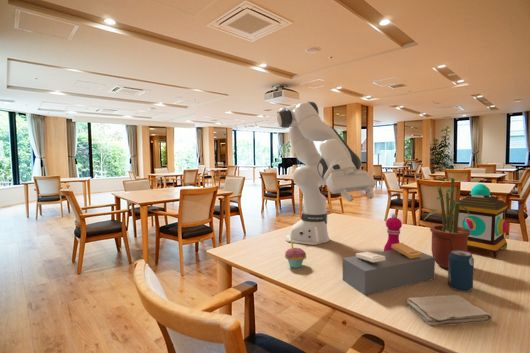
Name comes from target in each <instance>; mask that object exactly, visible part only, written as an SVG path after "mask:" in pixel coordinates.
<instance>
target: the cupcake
mask: <svg viewBox="0 0 530 353" xmlns="http://www.w3.org/2000/svg"><path fill="white" fill-rule="evenodd" d="M290 245H291V248H287V250H285V253H284V257H285V259H286V260H287V261H288V262H287V263H288V265H289V267H290V266H291V268H292V267H294V269H299V268H301V267H302V265H303V261H304V260H306V259H307V255H306V251H304V250H303V249H302V248H300V247H294V243H293V242H292V239H291V242H290ZM298 267H299V268H298Z"/></svg>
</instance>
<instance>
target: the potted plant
mask: <svg viewBox="0 0 530 353" xmlns="http://www.w3.org/2000/svg"><path fill="white" fill-rule="evenodd" d="M449 180H450V181H451V182H450V188H448V189H445V190H444V193H445V194H443V190H442V187H441V185H438V186H437V191H438V195H439V196H438V197H437V196H436V201H438V200H440V201H439V202H440V209H441V210H439V209H436V210H432V211H431V212H429V213H428V214H427V216H425V217H424V219H423V221H425V219H427V218H428V217H429V216H431V215H433V214H435V213H437V212H440V211H441V218H442V224H434V225H431V226H429V230H430V232H431V254H432V255H431V256H433V257H435V264H437V265H438V266H439V267H441V268H444V269H447V270H448V263H449V254H450V253H451V250H464V251H468V247H467V243H468V236H469V235H470V230H468V229H466V228H463V227H458V218H459V208H460V207H461V208H463V209H465V210H466V211H467V212H468V214H469V210H468V209H466V208H465V207H464V206H460V202H457V200H461V199H462V198H460V199H459V198H458V199H454V194H455V192H457V191H458V189H455V178H453V177H448V178H446V179H445V180H444V181H443V182H442V183H441V184H444V183H445V182H446V181H449ZM449 194H450V195H449ZM444 197H445V201H444ZM455 200H456V201H455ZM444 202H446V204H445V203H444ZM453 204H455V207H454V206H453ZM445 205H446V212H445Z"/></svg>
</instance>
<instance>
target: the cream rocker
mask: <svg viewBox="0 0 530 353" xmlns="http://www.w3.org/2000/svg"><path fill="white" fill-rule="evenodd" d="M374 253H375V252H372V251H371V252H370V251H363V252H357V253H355V256H356V257H358V258H361V259H364V260H367V261H371V262H378V261H383V260H385V256H382V255H378V254H374Z"/></svg>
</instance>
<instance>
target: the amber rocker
mask: <svg viewBox="0 0 530 353" xmlns="http://www.w3.org/2000/svg"><path fill="white" fill-rule="evenodd" d="M391 247H392V248H393V249H395V250H397V251H398V252H400V253H402V254H403V255H405V256H407V257H408V258H410V259H412V258H417V257H421V256H422V253H423V252H422V253H420V252H421V251H419V250H417V251H416V249H415V248H413V247H411V246H409V245H407V244H405V243H404V242H400V243H397V244H392V246H391ZM418 251H419V252H418Z"/></svg>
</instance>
